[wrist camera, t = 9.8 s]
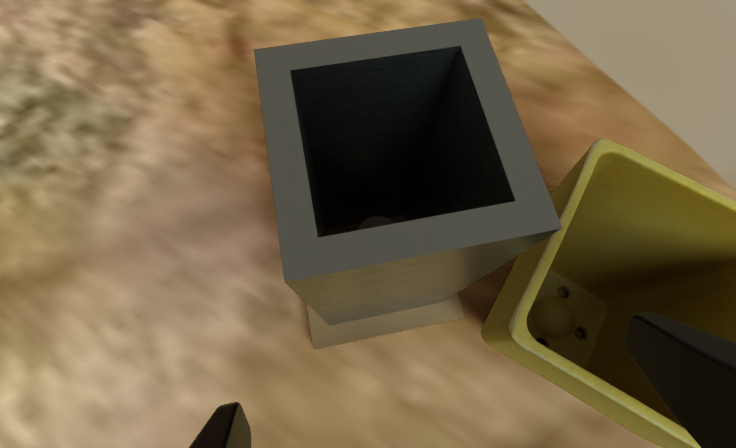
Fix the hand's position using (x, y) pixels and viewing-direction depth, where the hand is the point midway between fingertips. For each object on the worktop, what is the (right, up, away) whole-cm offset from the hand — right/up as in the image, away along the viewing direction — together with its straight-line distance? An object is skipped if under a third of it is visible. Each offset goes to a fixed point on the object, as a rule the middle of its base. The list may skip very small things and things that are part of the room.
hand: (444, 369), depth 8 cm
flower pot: (+8, -2, +13) cm, 15 cm away
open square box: (-1, +1, +12) cm, 12 cm away
